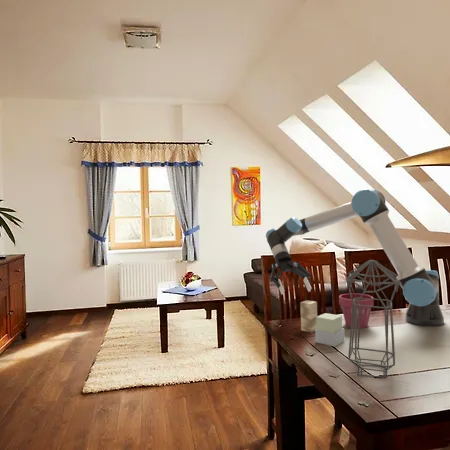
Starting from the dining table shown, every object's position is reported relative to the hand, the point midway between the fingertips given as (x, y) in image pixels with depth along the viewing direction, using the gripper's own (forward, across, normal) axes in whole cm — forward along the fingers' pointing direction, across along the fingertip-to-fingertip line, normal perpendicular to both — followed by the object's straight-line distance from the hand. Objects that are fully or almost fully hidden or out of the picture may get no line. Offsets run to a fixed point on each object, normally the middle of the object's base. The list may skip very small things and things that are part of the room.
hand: (296, 291), depth 171 cm
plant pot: (+19, -22, -2) cm, 30 cm away
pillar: (+18, 0, -3) cm, 18 cm away
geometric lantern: (+50, +2, +29) cm, 58 cm away
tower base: (+29, 0, +8) cm, 30 cm away
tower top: (+26, 0, +12) cm, 28 cm away
